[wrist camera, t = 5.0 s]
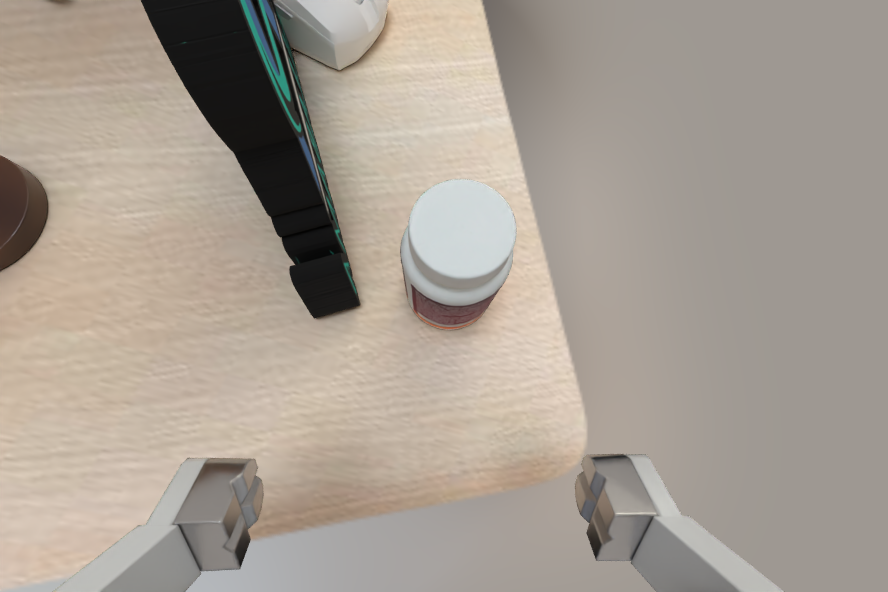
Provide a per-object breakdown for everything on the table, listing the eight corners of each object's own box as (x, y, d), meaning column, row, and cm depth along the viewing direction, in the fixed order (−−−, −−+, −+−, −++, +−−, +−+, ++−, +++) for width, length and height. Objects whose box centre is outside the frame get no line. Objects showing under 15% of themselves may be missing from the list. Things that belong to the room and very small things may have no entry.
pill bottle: (506, 304, 23) (553, 250, 15) (432, 346, 22) (439, 313, 14) (463, 235, 24) (485, 148, 16) (390, 273, 23) (374, 202, 15)
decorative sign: (247, 39, 26) (29, -402, 12) (286, 31, 27) (120, -410, 12) (316, 320, 22) (112, 171, 8) (361, 307, 23) (245, 140, 8)
